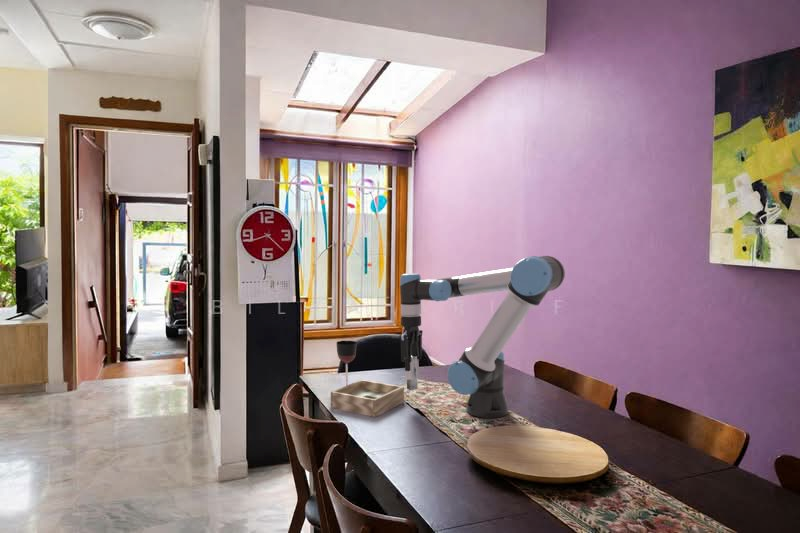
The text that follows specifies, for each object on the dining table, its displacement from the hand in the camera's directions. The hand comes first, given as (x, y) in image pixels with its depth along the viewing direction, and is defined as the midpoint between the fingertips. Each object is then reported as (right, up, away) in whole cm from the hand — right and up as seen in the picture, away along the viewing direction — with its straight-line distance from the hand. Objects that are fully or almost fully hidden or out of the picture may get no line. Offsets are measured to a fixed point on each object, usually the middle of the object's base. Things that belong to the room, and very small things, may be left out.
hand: (412, 377), depth 196 cm
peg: (0, -4, 0) cm, 4 cm away
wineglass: (-27, -11, +25) cm, 38 cm away
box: (-17, -11, +5) cm, 21 cm away
